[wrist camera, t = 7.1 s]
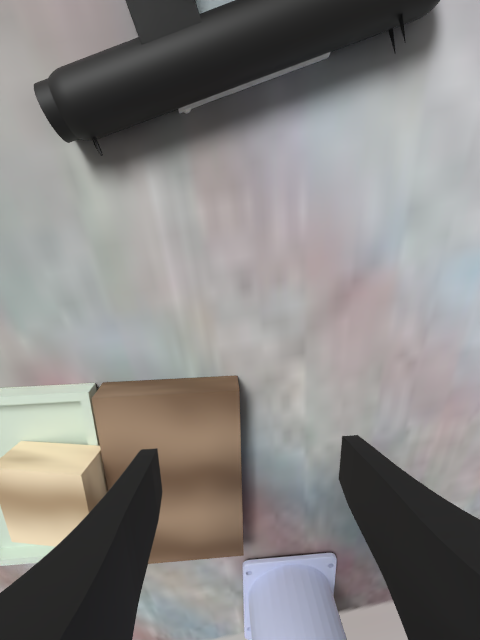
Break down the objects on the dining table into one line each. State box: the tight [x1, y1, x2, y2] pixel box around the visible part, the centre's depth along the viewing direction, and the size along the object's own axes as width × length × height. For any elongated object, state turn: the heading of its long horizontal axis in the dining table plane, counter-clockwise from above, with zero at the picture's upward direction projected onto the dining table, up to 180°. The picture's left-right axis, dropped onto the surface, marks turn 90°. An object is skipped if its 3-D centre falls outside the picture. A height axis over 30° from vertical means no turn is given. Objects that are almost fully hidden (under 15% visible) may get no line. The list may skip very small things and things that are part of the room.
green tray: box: [0, 383, 100, 566], centre depth 22 cm, size 14×10×1 cm
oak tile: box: [0, 441, 108, 547], centre depth 20 cm, size 6×6×2 cm
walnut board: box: [91, 376, 243, 564], centre depth 22 cm, size 14×9×2 cm, turn 1°
